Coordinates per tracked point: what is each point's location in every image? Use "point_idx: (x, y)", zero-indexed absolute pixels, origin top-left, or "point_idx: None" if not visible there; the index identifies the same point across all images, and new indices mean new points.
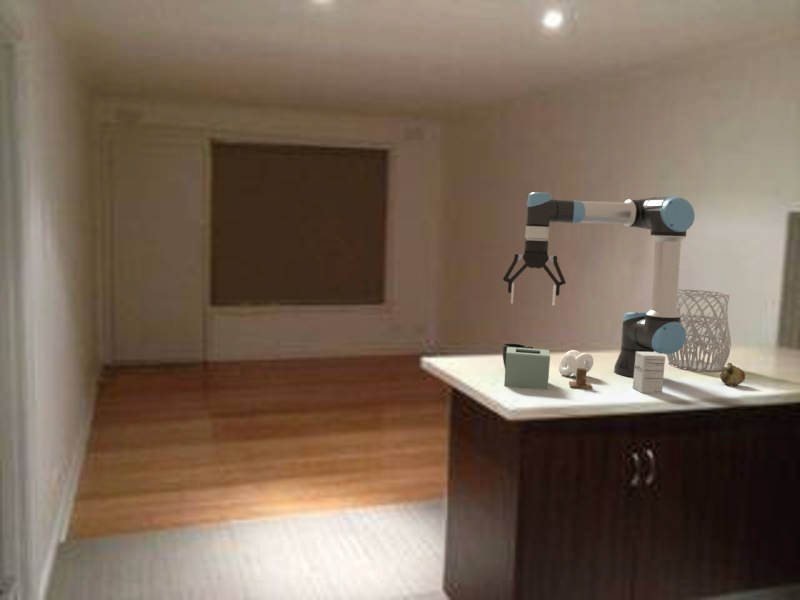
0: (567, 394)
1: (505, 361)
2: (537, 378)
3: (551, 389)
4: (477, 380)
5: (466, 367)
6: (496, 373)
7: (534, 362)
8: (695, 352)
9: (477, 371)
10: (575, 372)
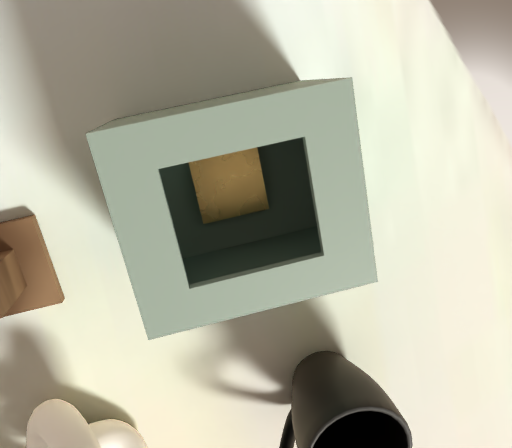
0: (4, 65)
1: (363, 371)
2: (160, 111)
3: None
4: (419, 122)
5: (491, 334)
6: (372, 301)
7: (179, 111)
8: None
9: (444, 291)
10: (55, 401)
